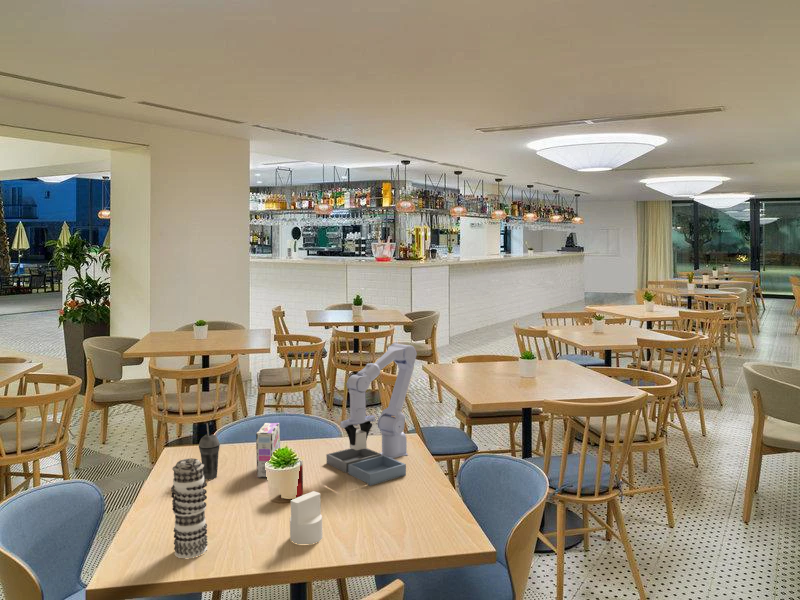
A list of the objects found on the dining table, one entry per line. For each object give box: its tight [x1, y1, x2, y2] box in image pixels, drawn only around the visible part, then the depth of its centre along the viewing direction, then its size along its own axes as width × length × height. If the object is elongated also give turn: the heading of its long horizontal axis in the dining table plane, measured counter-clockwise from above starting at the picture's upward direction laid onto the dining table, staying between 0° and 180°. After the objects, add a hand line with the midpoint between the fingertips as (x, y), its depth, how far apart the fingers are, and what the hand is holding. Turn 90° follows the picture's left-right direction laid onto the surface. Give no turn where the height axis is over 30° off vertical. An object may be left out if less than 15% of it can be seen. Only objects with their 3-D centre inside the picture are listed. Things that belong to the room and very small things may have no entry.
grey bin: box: [326, 447, 381, 474], centre depth 238 cm, size 16×13×4 cm
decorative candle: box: [170, 457, 208, 559], centre depth 170 cm, size 9×9×25 cm
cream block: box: [349, 429, 368, 450], centre depth 236 cm, size 4×4×6 cm
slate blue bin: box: [347, 455, 407, 487], centre depth 227 cm, size 16×13×4 cm
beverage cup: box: [198, 422, 221, 480], centre depth 225 cm, size 7×7×20 cm
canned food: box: [296, 459, 304, 497], centre depth 209 cm, size 8×8×11 cm
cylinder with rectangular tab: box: [289, 490, 323, 545], centre depth 178 cm, size 9×9×12 cm
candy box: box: [255, 422, 281, 479], centre depth 231 cm, size 14×6×16 cm, turn 179°
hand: (358, 443), depth 236 cm, fingers closed on cream block, 4 cm apart
